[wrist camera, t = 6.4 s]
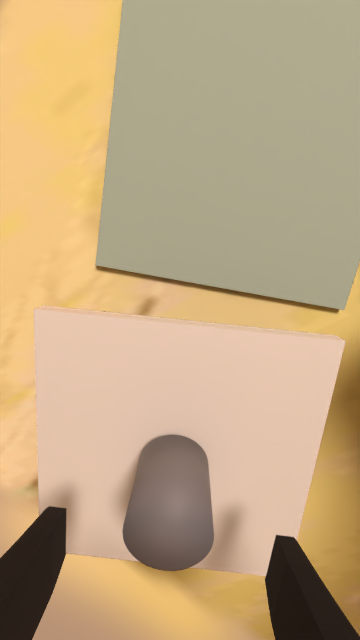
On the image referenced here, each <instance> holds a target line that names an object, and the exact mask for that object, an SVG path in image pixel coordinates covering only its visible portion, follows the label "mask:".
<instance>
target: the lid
mask: <svg viewBox="0 0 360 640" xmlns="http://www.w3.org/2000/svg"><path fill="white" fill-rule="evenodd" d="M34 338H35V376H36V415H37V453H38V492H39V516H40V515H41V513H42V512H43V511H44V510H45V509H46V508H47V507H49V506H52V507H60V508H67V511H66V553H67V554H77V555H85V556H94V557H102V558H111V559H120V560H129V561H138V562H141V563H143V564H145V565H147V566H149V567H152V568H155V569H158V570H165V571H177V570H183V569H187V568H189V567H190V568H199V569H208V570H216V571H225V572H234V573H243V574H251V575H260V576H266V574H267V570H268V566H269V562H270V557H271V553H272V549H273V545H274V541H275V537H276V535H282V536H290V537H294V538H295V539H296V540H297V537H298V533H299V529H300V525H301V521H302V517H303V513H304V509H305V505H306V500H307V496H308V492H309V488H310V484H311V480H312V476H313V472H314V468H315V464H316V460H317V456H318V452H319V447H320V443H321V439H322V435H323V431H324V427H325V423H326V419H327V415H328V411H329V407H330V403H331V398H332V394H333V390H334V386H335V382H336V378H337V374H338V370H339V366H340V362H341V358H342V354H343V350H344V345H345V341H344V340H343V339H341V338H339V337H338V336H336V335H328V334H318V333H309V332H299V331H289V330H279V329H270V328H260V327H250V326H240V325H230V324H221V323H211V322H201V321H191V320H182V319H172V318H162V317H152V316H143V315H133V314H123V313H113V312H103V311H94V310H84V309H74V308H64V307H55V306H45V305H43V306H41V307H38V308H35V309H34Z"/></svg>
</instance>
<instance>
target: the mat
mask: <svg viewBox="0 0 360 640" xmlns="http://www.w3.org/2000/svg"><path fill="white" fill-rule="evenodd" d="M359 262H360V0H123V3H122V13H121V23H120V33H119V42H118V52H117V62H116V72H115V81H114V91H113V101H112V110H111V120H110V130H109V140H108V149H107V159H106V169H105V179H104V188H103V198H102V208H101V217H100V227H99V237H98V247H97V256H96V266H102V267H108V268H113V269H119V270H124V271H130V272H135V273H141V274H146V275H152V276H157V277H163V278H169V279H174V280H180V281H185V282H191V283H196V284H202V285H207V286H213V287H218V288H224V289H230V290H235V291H241V292H246V293H252V294H257V295H263V296H268V297H274V298H279V299H285V300H291V301H296V302H302V303H307V304H313V305H318V306H324V307H329V308H335V309H340V310H344V309H345V306H346V303H347V300H348V297H349V293H350V290H351V287H352V284H353V281H354V278H355V275H356V272H357V269H358V265H359Z"/></svg>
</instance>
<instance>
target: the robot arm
mask: <svg viewBox="0 0 360 640" xmlns="http://www.w3.org/2000/svg"><path fill="white" fill-rule="evenodd" d="M66 511H67V508H60V507H52V506H49V507H47V508H46V509H45V510H44V511H43V512H42V513H41V515H40V516H39V517H38V518H37V519H36V520H35V521H34V522H33V524H32V525H31V526H30V527H29V528H28V529H27V530H26V531H25V532H24V534H23V535H22V536H21V537H20V538H19V539H18V540H17V541H16V542H15V543H14V544H13V545H12V547H11V548H10V549H9V550H8V551H7V552H6V553H5V554H4V555H3V556H2V557H1V558H0V640H32V638H33V636H34V634H35V631H36V629H37V627H38V625H39V622H40V620H41V618H42V616H43V613H44V611H45V609H46V607H47V604H48V602H49V600H50V597H51V595H52V593H53V590H54V587H55V584H56V581H57V578H58V575H59V573H60V569H61V567H62V564H63V561H64V558H65V555H66ZM265 583H266V590H267V597H268V604H269V610H270V617H271V623H272V627H273V631H274V636H275V640H360V636H359V635H358V633H357V632H356V631H355V629H354V628H353V626H352V625H351V623H350V622H349V621H348V619H347V618H346V616H345V615H344V613H343V612H342V610H341V609H340V607H339V606H338V604H337V603H336V601H335V600H334V598H333V597H332V595H331V594H330V592H329V591H328V589H327V588H326V586H325V585H324V583H323V582H322V580H321V578H320V577H319V575H318V574H317V572H316V571H315V569H314V567H313V566H312V564H311V563H310V561H309V560H308V558H307V556H306V555H305V553H304V552H303V550H302V548H301V547H300V545H299V544H298V542H297V540H296V539H295V538H294V537H290V536H282V535H276V537H275V541H274V545H273V549H272V553H271V557H270V562H269V566H268V570H267V574H266V578H265Z"/></svg>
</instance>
